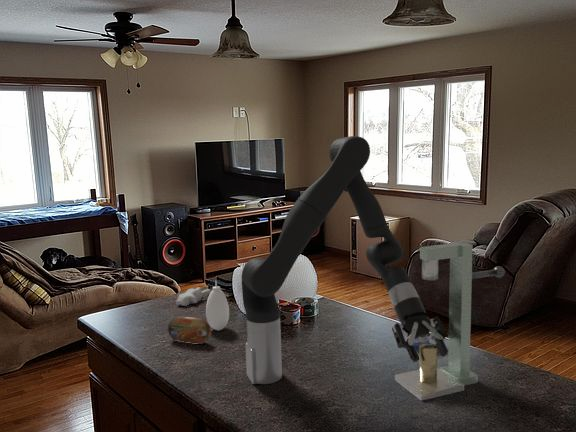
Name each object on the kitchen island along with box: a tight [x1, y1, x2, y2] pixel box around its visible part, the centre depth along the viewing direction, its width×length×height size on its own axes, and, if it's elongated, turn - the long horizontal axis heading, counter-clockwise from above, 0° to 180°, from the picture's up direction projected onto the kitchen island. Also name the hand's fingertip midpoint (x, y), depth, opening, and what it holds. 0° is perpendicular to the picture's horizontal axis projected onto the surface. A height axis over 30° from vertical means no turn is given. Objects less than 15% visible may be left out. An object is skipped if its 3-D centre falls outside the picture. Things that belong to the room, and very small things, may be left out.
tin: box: [167, 315, 211, 345], centre depth 169 cm, size 15×3×8 cm, turn 68°
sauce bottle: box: [205, 280, 230, 331], centre depth 178 cm, size 8×8×18 cm
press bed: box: [394, 241, 506, 401], centre depth 136 cm, size 30×12×37 cm, turn 110°
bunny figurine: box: [175, 287, 212, 307], centre depth 211 cm, size 10×5×15 cm
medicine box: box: [402, 317, 430, 349], centre depth 161 cm, size 8×4×9 cm, turn 117°
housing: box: [418, 343, 438, 384], centre depth 135 cm, size 4×4×9 cm
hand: (431, 358), depth 133 cm, fingers open, 8 cm apart
